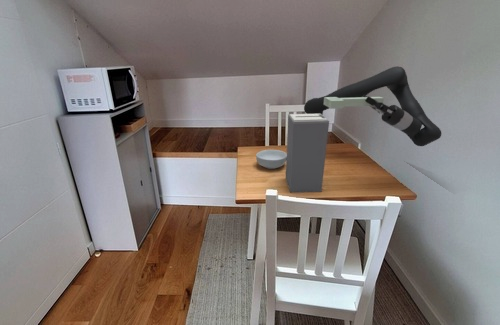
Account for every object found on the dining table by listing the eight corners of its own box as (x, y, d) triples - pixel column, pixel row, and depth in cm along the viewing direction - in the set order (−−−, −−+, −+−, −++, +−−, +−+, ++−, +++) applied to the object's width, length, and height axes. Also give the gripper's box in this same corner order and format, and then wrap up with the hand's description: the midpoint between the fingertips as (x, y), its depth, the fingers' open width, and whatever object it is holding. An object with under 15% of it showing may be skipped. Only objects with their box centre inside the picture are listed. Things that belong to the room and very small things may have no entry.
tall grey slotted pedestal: (313, 177, 120) (319, 112, 108) (321, 191, 107) (329, 119, 95) (285, 178, 120) (288, 113, 108) (290, 192, 107) (293, 120, 95)
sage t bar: (374, 102, 104) (375, 95, 103) (386, 107, 95) (388, 99, 94) (323, 104, 104) (324, 97, 103) (330, 108, 95) (331, 100, 94)
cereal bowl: (291, 163, 137) (291, 151, 135) (279, 174, 124) (279, 162, 121) (264, 158, 145) (264, 147, 143) (250, 168, 132) (250, 156, 130)
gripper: (393, 106, 107) (362, 87, 103) (413, 113, 94) (379, 91, 90) (382, 121, 109) (352, 103, 106) (400, 129, 96) (366, 109, 93)
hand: (364, 98), depth 98 cm, fingers closed on sage t bar, 3 cm apart
